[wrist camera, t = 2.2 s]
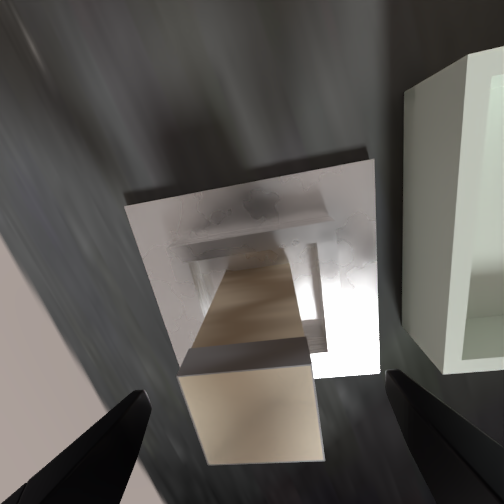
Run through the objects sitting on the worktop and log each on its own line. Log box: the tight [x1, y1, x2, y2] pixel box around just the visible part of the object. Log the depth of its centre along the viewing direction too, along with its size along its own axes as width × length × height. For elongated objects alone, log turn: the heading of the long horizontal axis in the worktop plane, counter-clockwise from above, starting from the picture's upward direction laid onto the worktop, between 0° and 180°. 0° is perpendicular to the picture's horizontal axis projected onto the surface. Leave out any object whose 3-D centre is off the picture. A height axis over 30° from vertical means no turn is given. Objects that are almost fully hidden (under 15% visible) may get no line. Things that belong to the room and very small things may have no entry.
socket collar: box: [124, 159, 380, 378], centre depth 15 cm, size 14×14×2 cm
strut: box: [176, 263, 325, 465], centre depth 11 cm, size 4×4×8 cm
